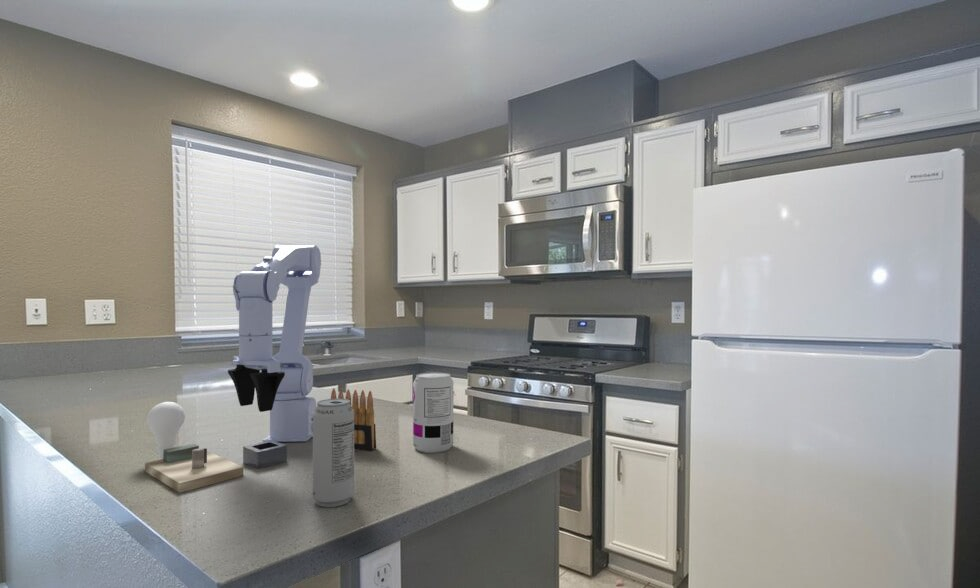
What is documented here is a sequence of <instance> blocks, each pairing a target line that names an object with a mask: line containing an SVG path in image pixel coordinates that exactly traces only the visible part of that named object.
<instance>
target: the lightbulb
mask: <svg viewBox="0 0 980 588" xmlns="http://www.w3.org/2000/svg"><path fill="white" fill-rule="evenodd" d="M185 418H186V413H185V409H184V408H183V407H182V406H181V405H180V404H179V403H178V402H173V401H164V402H159V403H158V404H156V405H155V406H153V407H152V408H151V410H150V411H149V412H148V413H147V418H146V421H147V426H148V427H149V429H150V431H151V432H152V433H153V436H154V438H155V442H156V447H157V455H158V458H160V459H163V450H165V449H169V448H174V447H175V445H176V444H177V437H178V434H179V431H180V430H181V427H182V426H183V424H184V422H185Z"/></svg>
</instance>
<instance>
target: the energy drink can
mask: <svg viewBox="0 0 980 588" xmlns="http://www.w3.org/2000/svg"><path fill="white" fill-rule="evenodd" d="M316 405H317V407H316V409H315V411H314V413H313V436H312V498H313V500H315V501H316V503H315V504H316V505H318V506H319V507H322V508H333V507H339V506H343V505H345V504H347V503H349V502H350V501H351V497H353V495H354V493H355V449H354V410H353V408H352V404H351V405H350V400H348V399H345V398H344V399H338V398H337V399H331V398H327V399H322V400H318V401H316Z"/></svg>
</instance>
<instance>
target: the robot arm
mask: <svg viewBox="0 0 980 588" xmlns="http://www.w3.org/2000/svg"><path fill="white" fill-rule="evenodd" d="M321 265H322V257H321V250H320V248H319V247H318V245H316V244H313V245H281V244H276V245H275V246H274V247H273V249H272V251H271V256H264V257H263V258H262V260H261V261H260V262H259V263H258V264H256V265H255V266H254V267H253V268H251V269H250V270H249V271H247V270H246V271H245V270H244V271H240V273H238V274H236V275H235V277H234V280H233V285H232V291H233V297H234V300H235V308H236V311H238V355H233V356H232V358H233V359H232V362H231V363H232V366H233V367H235V368H229V369H228V370H227V373H228V375H229V377H230V378H231V380H232V383H233V384H234V387H235V391H236V395H237V399H238V403H239V405H240V406H241V407H245V406H250V405H253V403H254V399H255V393H256V400H257V401H256V402H257V408H258V411H259V412H260V413H261V412H268V411H269V434H268V435H267V436H266V437H264V438H263V439H262V442H266V441H271V440H273V441H276V442H279V443H284V442H285V443H286V442H287V443H288V442H308V441H309V440H310V439H311V438H313V413H314V411H315V409H316V407H317V400H316V398H315V397H309V396H308V395H310V393H311V392H312V389H313V386H314V365H313V363H312V361H311V360H310V359H309V358H308V357H307V356H306V355H304V354H303V348H304V342H305V341H304V340H305V334H306V333H305V331H306V326H307V317H308V309H309V302H310V296H311V295H310V294H311V291H312V287H313V286H314V285H316V284H318V283H319V279H320V276H321V275H320V274H321ZM281 285H283V286H285V287H287V289H288V290H287V291H288V292H287V297H286V298H287V299H286V304H285V309H284V310H285V311H284V317H283V326H282V332H281V340H280V345H279V351H278V352H277V353H276V354H274V355H273V342H274V341H273V337H274V336H273V307H274V306H273V302H274V301H276V300H277V297H278V292H279V290H280V286H281Z"/></svg>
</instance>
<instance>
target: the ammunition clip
mask: <svg viewBox="0 0 980 588" xmlns="http://www.w3.org/2000/svg"><path fill="white" fill-rule="evenodd" d="M372 393H373V392H372V390H369V392H368V394H367V399H366V393H365V390H364V389H362V390H361V393H360V396H359V395H358V392H357V390H356V389H355V390H354V391H353V393H352V395H351V391H350V389H347V390H346V394H345V396H344V392H343V388H340V389H339V392H338V396H337V392H336V389H335V388H332V391H331V393H330V399H348V400H350V405H351V407H352V408H353V410H354V450H358V451H366V452H371V451H374V450H376V449H377V437H376V436H377V435H376V423H375V409H374V398H373V394H372Z"/></svg>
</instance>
